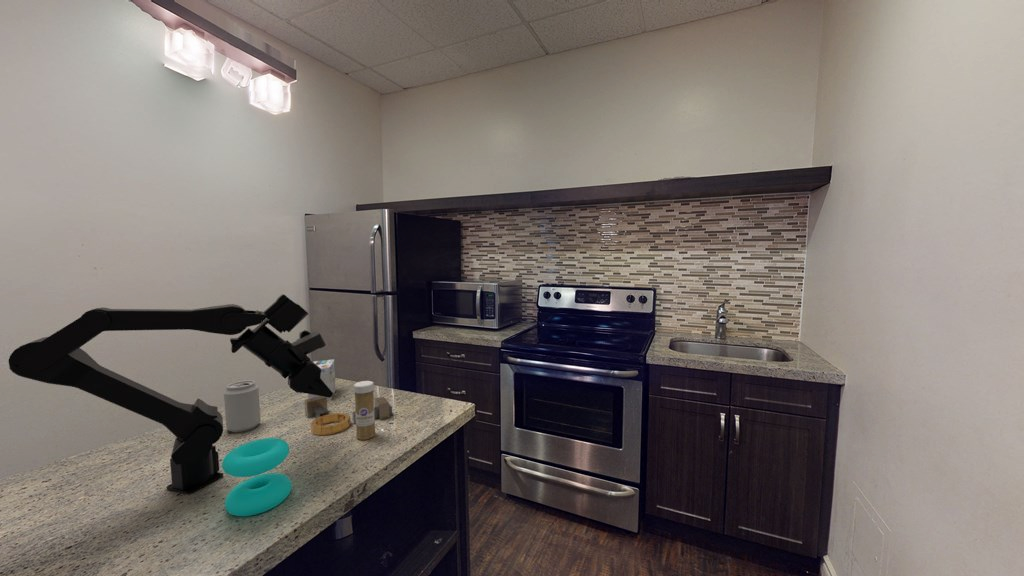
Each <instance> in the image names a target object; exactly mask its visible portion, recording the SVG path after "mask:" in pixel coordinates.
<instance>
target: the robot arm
mask: <svg viewBox="0 0 1024 576" xmlns="http://www.w3.org/2000/svg"><path fill="white" fill-rule="evenodd" d="M308 315H309V312H307V310H305V308H303V307H302V306H301V305H300V304H299V303H297V302H294V301H293V300H292V299H290V298H289V297H288V296H287V295H286V294H284V293H283V294H281V295H280V296H278V298H276V300H275V301H274V302H273V303H272V304H271V305H269V306H268V307H267V308H266V309H265V310H264V311H259V310H249V309H247V310H246V309H245V308H244V307H243V306H241V305H239V304H235V303H230V304H222V305H214V306H213V305H212V306H207V307H206V306H205V307H202V308H201V307H200V308H193V309H182V308H181V309H177V308H176V309H166V308H165V309H163V308H162V309H159V308H153V309H152V308H149V309H148V308H147V309H146V308H109V307H97V308H93V309H90V310H87V311H85V312H84V313H83V314H81V316H80V317H79V318H77V319H75V320H73V321H71V323H69V324H68V325H66V326H64V327H62V328H61V329H59V330H57V331H55V332H54V333H52V334H51V335H49V336H45V337H41V338H38V339H35V340H33V341H30V342H28V343H25V344H22V345H20V346H18V347H17V348H16V349H14V350H13V351H12V353H10V355H9V359H8V367H9V369H10V371H11V372H12V373H13V374H15V375H16V376H19V377H21V378H25V379H30V380H33V381H36V382H40V383H45V384H49V385H56V386H65V387H71V388H76V389H78V390H81V391H83V392H85V393H88V394H90V395H92V396H95V397H96V398H97V397H98V398H100V399H102V400H104V401H107V402H109V403H111V404H114V405H116V406H119V407H121V408H123V409H126V410H128V411H131V412H132V413H135V414H137V415H140V416H142V417H145V418H147V419H149V420H151V421H154V422H156V423H158V424H161V425H163V426H164V427H165V428H166V429H167V430H168V431H169V432H170V433H172V434H173V435H174V437H176V438H175V439H174V443H173V447H172V450H171V455H170V457H171V458H169V463H170V465H169V466H170V477H171V483H170V484H168V485H167V486H166V490H168V491H173V492H177V493H182V494H186V495H190V494H192V493H194V492H196V491H198V490H200V489H202V488H204V487H206V486H208V485H209V484H211V483H213V482H215V481H217V480H218V479H221V478H223V477H224V473H223V472H220V460H219V451H217V447H216V445H214V444H216V443H217V442H218V441H219V440H220V439H221V437H222V436H223V433H224V419H223V416H222V413H221V412H219V411H218V406H215V405H210V404H208V403H206V402H205V401H203V400H202V399H200V398H197V399H196V400H195V401H194V403H192V404H191V403H185V402H180V401H177V400H176V399H173V398H171V397H169V396H167V395H164V394H162V393H160V392H158V391H156V390H154V389H151V388H150V387H147V386H146V385H143V384H141V383H140V382H136V381H134V380H132V379H131V378H130V379H129V378H128V377H126V376H124V375H121V374H120V373H117V372H115V371H113V370H111V369H109V368H106V367H104V366H102V365H100V364H99V363H98V362H97V361H96V360H95V359H94V358H93V357H92V356H90V355H89V354H88V353H87V352H86V351H85V350H83V349H82V348H81V347H83V346H84V345H86V344H87V343H89V342H90V341H91V340H93V339H94V338H96V337H97V336H98V335H100V334H102V333H103V332H113V331H114V332H115V331H118V332H119V331H120V332H121V331H122V332H124V331H128V332H129V331H171V330H172V331H175V330H177V331H179V330H181V331H182V330H189V331H190V330H191V331H198V332H203V333H204V332H205V333H210V334H217V335H227V336H234V335H238V334H240V335H239V336H238V337H233V338H232V337H231V338H229V341H230V345H231V348H230V350H231V353H232V354H235V353H237V352H238V351H239V350H240V349H241V348H244V349H245V350H247V351H249V353H251V354H252V355H254V356H255V357H257V358H258V359H259V360H261V361H262V362H263V363H264V365H266V366H267V367H268V368H272V369H273V370H274V371H276V372H277V373H279V374H280V376H281V377H282V378H284V379H287V385H288V386H289V388H290V389H291V390H293V391H294V392H295V393H296V394H307V395H308V394H313V395H318V396H323V397H329V398H330V397H331V396H332V395H334V394H333V393H332V391H331V390H330V389H329V388H328V387H327V385H326V384H325V383H324V382H323V381H322V380H321V378H320V377H321V369H320V368H319V367H318V366H317V365H316V364H315V363H313V361H312V360H311V357H309V356H308V355H309V354H311V353H313V352H315V351H317V350H318V349H322V348H324V347H325V346H326V342H325V340H324V338H323V336H322V335H321V333H320V332H319V331H312V332H310V331H308V330H306V329H304V330H302V331H300V332H299V335H298V336H299V337H298V338H297V339H296V340H295V341H293V342H291V341H289V340H285V339H284V338H283V337H281V336H279V335H278V334H277V333H275V332H274V331H273V330H272V329H270V328H269V327H268V326H267V325H269V326H271V327H272V328H273V329H275V330H276V331H277V332H279V333H280V334H283V332H284V333H285V332H287V333H290V332H291V331H292V330H293V329H294V328H296V327H297V326H298V324H300V323H301V322H302V321H303V320H304V319H305V318H306V317H307V316H308ZM253 326H256V327H255V328H254V329H252V328H249V327H253ZM242 332H243V333H242ZM332 397H333V396H332Z"/></svg>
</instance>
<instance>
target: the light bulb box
mask: <svg viewBox="0 0 1024 576" xmlns="http://www.w3.org/2000/svg"><path fill="white" fill-rule="evenodd" d="M312 362H313V363H315V364H316V365H317V366H318V367H319V368H320V369H321V377H320V378H321V380H322V381H323V382H324V383H325V384H326V385H327V387H328V388H329V389H330V390H331V391H332V393H333V395H334V394H335V392H336V388H337V387H336V371H335V370H336V369H335V366H336V364H335V359H326V360H323V359H322V360H315V361H312ZM333 395H332V396H331V397H330V398H329V397H327V400H328V401H331V400H332V398H333ZM307 396H308V397H307V399H310V398H314V397H319V396H318V395H313V394H307Z"/></svg>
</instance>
